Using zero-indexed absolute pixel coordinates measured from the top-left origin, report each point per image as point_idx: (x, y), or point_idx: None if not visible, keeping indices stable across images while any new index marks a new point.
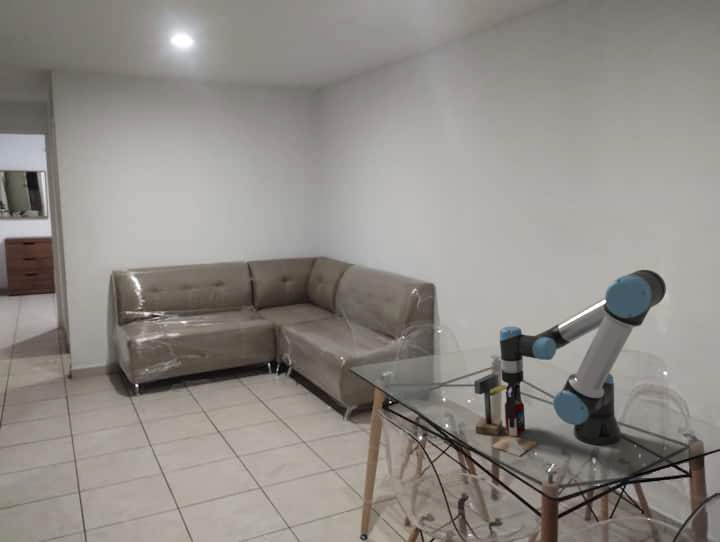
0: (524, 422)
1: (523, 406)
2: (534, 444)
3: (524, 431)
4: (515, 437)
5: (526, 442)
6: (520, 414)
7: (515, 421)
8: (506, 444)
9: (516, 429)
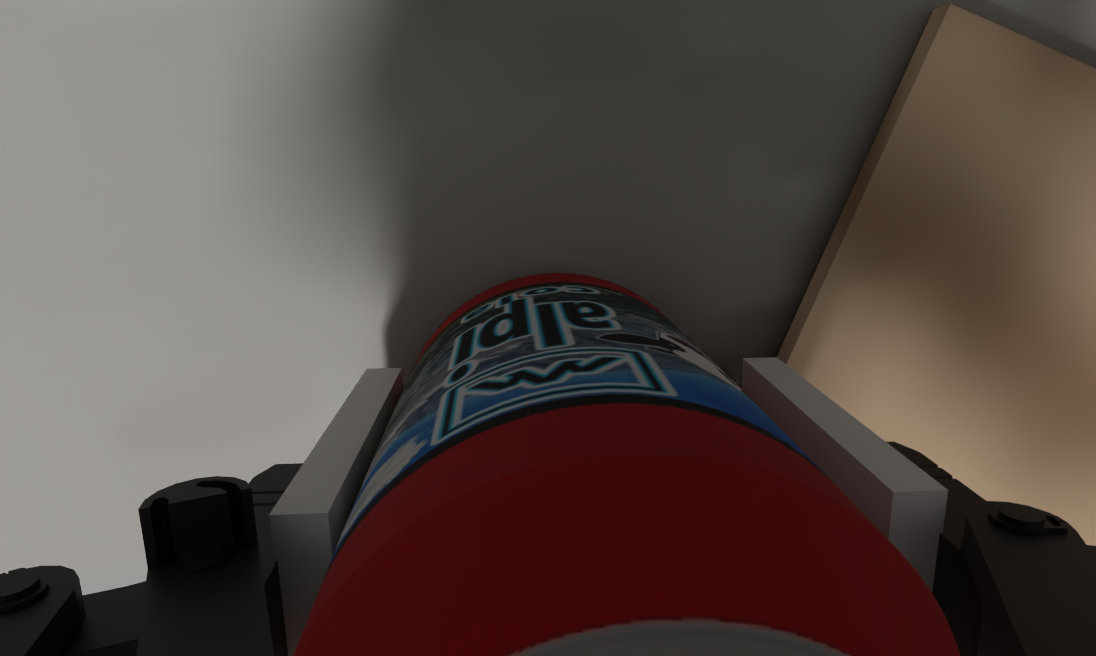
0: (582, 302)
1: (668, 452)
2: (1002, 29)
3: (581, 275)
4: (805, 366)
5: (958, 168)
6: (779, 432)
7: (904, 468)
8: (1062, 434)
9: (816, 392)
